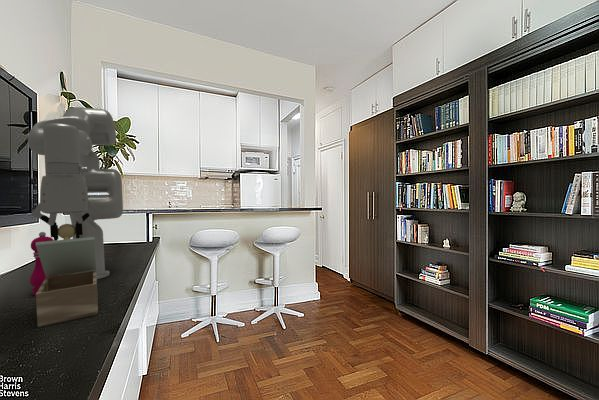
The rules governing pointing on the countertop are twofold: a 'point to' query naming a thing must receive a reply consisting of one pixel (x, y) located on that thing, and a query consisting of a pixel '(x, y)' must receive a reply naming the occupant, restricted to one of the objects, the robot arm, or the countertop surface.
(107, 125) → the robot arm
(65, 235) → the lid
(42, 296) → the box
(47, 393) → the countertop surface
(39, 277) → the pepper mill
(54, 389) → the countertop surface
